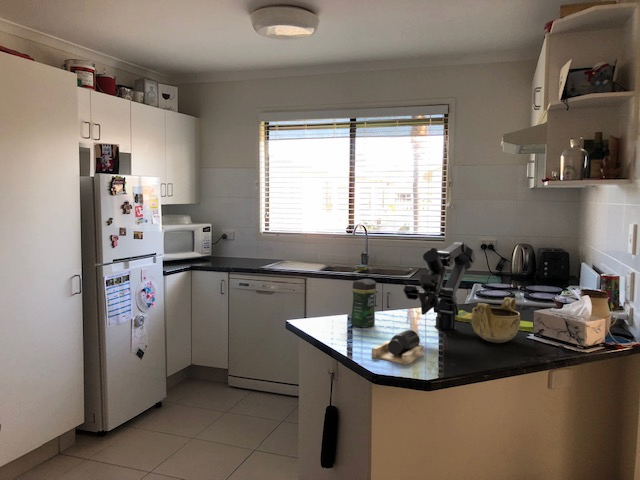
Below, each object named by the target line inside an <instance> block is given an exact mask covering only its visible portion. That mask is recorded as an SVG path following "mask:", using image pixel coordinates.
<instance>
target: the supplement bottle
mask: <svg viewBox="0 0 640 480" xmlns="http://www.w3.org/2000/svg"><path fill="white" fill-rule="evenodd" d="M390 340H391V341H390V342H389V344H388V349H389V352H390V353H391V354H393V355H400V356H402V354H404V353H406V352H407V351H409V350H411V349H413V348H414V347H416V346H418V345H420V344H421V343H420V336H419V335H418V333H417V332H416V331H414V330H411V329H407V330H404V331H401V332H400V333H397V334H395V335H393V336H392V338H391V339H390Z"/></svg>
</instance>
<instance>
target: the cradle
mask: <svg viewBox="0 0 640 480" xmlns="http://www.w3.org/2000/svg"><path fill="white" fill-rule="evenodd" d="M390 341H391V339H389V340H386V341H384V342H382V343H380V344H378V345H376V346H373V347H372V348H371V359H377V360H378V359H379V360H384V361H386V362H387V361H388V362H392V363H393V362H394V363H398V364H401V365H405V366H407V365H409V364H411V363H412V362H413V361H416V360H417V359H419V358H420V357H421V356H423V355H424V345H421V344H419V345H418V346H416V347H414V348H413V349H411V350H409V351H407V352H406V353H404V354H402V356H400V355H393V354H391V353H390V352H389V349H388V344H389V342H390Z"/></svg>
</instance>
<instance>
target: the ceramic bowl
mask: <svg viewBox="0 0 640 480" xmlns="http://www.w3.org/2000/svg"><path fill="white" fill-rule="evenodd" d="M515 306H516V299H515V298H513V297H508V296H507V297H504V299H502V303H501V306H497V307H496V306H490V304H489V303H483V302H482V303H481V302H478V303H477V305H476V307H473V308H472V311H471V313H472V315H471V321H472V323H471V326H472V328H473V331H474V333H475V334H477V335H478V337H480V338H481V339H482V340H485V341H487V342H489V343H494V344H503V343H506V342H509V341H510V340H513V338H515V337H516V336H517V334H518V332H519V331H518V330H519V327H520V321H521V314H520V312H519V311H517V310H515Z"/></svg>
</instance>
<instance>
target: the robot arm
mask: <svg viewBox="0 0 640 480" xmlns="http://www.w3.org/2000/svg"><path fill="white" fill-rule="evenodd" d="M422 258H423V259H422V260H423V261H424V264H425V266H426V268H427V271H429V272H428V274H425V273H421V274H420V275H419V281H418V283H419V284H421V285H420V288H417V285H412V284H407V285H406V284H405V285H404V287H403V290H402V291H403V293H404V295H405V297H406V298H407V300H412V301H415V300H418V299H419V302H420V308H421V309H420V310H421V315H423V316H425V315H426V314H427V313H428V312H429V311H431V310H432V309H433V313H435V314H436V317H435V325H434V328H435V329H438V330H440V331H442V332H443V331H456V330H457V329H458V328H457V327H456V325H455V324H456V321H455V315H458V313H459V311H460V307H459V304H458V301H457V300H458V299H457V296H456V294H457V291H458V290H459V287H460V285H461V282H462V281H463V277H464V274H465V272H466V271H467V270H469V269H471V268H472V266H473V265H474V263H475V261H476V254H475V252H474V250H473V249H472V248H471V247H469V246H468V245H467V243H465V242H462V241H455V242H453V243H452V244H451V245H449V246H448V247H447V248H445V249H438V248H437V247H431V248H430V250H427V251H426V252H424V253H423V255H422ZM453 264H454V265H453ZM452 265H453V267H452ZM451 267H452V270H451V272H450V274H449V277H448V279H447V281H446V284H445V286H444V288H443V282H444V280H445V277H447V268H451Z"/></svg>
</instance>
